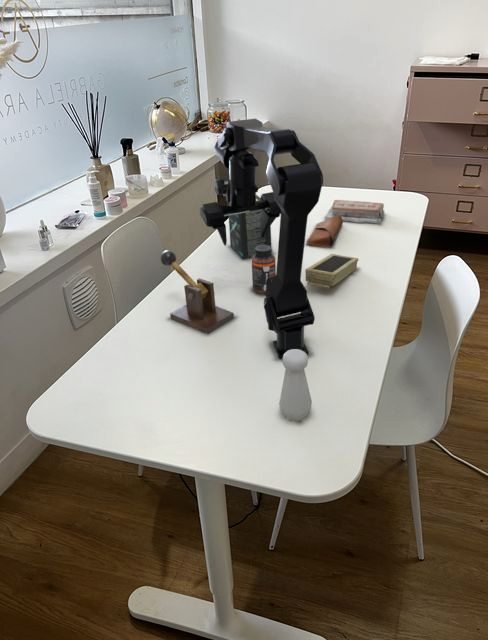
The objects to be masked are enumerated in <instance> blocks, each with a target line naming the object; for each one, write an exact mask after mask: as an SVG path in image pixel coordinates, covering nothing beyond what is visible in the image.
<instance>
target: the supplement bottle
mask: <svg viewBox="0 0 488 640" xmlns="http://www.w3.org/2000/svg"><path fill="white" fill-rule="evenodd" d="M255 253H256V254H255V255H253V257H251V278H252V279H251V281H252V289H253V291H254V292H255V293H258V294H262V295H263V294H265V292H266V281H267V279H268V278H270V277H274V276H276V271H277V261H276V256H275V255H274V254H273V250H272V251H271V247H270V246H268V245H260V246H257V247H256V248H255Z"/></svg>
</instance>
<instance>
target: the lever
mask: <svg viewBox="0 0 488 640" xmlns="http://www.w3.org/2000/svg"><path fill="white" fill-rule="evenodd" d="M160 261H161V264H163V265H164V266H165V267H172V269H174V271H175V272H176V273H177V274H178V275H179V276H180V277H181V278H182V279H183V280H184V281H185V282H186V283H187V285H190V286H193V287H195V288H198V289H201V294H202V299H203V298H205V297H206V295H207V293H208V290H207V289H206V288H205V287H204V286H203V285H202V284H201V283H198V284H197V282H196V281H194V279H193V278H192V277H191V276H190V275H189V274H188V273H187V271H185V270H184V269H183V267H182V266H180V264H179V263H178V262H177V255H176V253H175V252H174V251H172V250H170V249H169V250H164V251H163V252H162V253H161V255H160Z"/></svg>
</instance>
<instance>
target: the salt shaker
mask: <svg viewBox="0 0 488 640" xmlns="http://www.w3.org/2000/svg"><path fill="white" fill-rule="evenodd" d="M308 356H309V355H307V354H306V353H305V352H304V351H302V350H299V349H291V350H288V351H287V352H286V353H284V355H283V358H282V366H283V367H284V368H285V371H284V376H283V381H282V387H281V392H280V398H279V402H278V405H279V408H280V410H281V411H282V414H283V415H284V416H285V418H287V420H288V421H295V422H296V421H297V422H300V421H301V420H304V418H306V417H307V416H308V414H309V413H310V411H311V409H312V405H313V401H312V396H311V392H310V388H309V383H308V380H307V376H306V370H305V369H306V368H307V366H308V363H309V357H308Z"/></svg>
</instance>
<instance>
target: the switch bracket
mask: <svg viewBox="0 0 488 640" xmlns="http://www.w3.org/2000/svg"><path fill="white" fill-rule="evenodd" d="M198 283H201V284H202V285H203V286H204V287H205V288H206V289H207V290H208V293H207V295H206V297H205V298H203V299H202V294H201V289H198V288H195V287H193V286H190V285H189V284H185V285H183V287H184V295H185V305H183V306H181V307H179V308H177V309H176V310H174V311H172V312H170V313H169V315H170V319H171V320H174V321H176V322H178V323H180V324H183V325H185V326H188V327H189V328H192V329H194V330H196V331H199V332H201V333H204V334H206V335H208V334H210V333H212V332H214V331H215V330H217V329H219V328H220V327H222V326H223V325H225V324H227V323H228V322H230V321H232V320H233V319H235V313H234V312H233V311H230V310H227V309H226V308H225V309H224V308H222V307H220V306H217V305H216V298H215V296H216V295H215V285H214V282H211V281H208V280H206V279H204V278H197V279H196V284H198Z"/></svg>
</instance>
